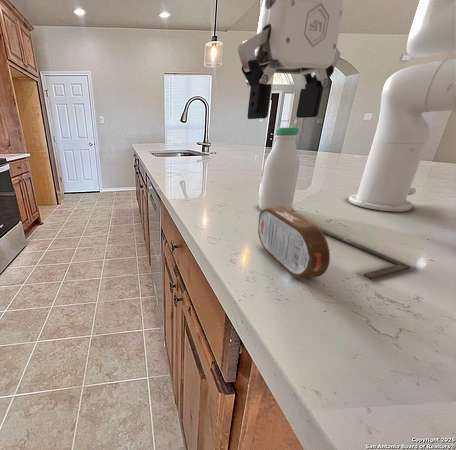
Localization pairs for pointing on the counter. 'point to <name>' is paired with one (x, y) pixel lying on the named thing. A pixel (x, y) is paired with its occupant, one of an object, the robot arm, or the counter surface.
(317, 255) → the tin
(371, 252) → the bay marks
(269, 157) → the milk bottle
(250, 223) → the counter surface
